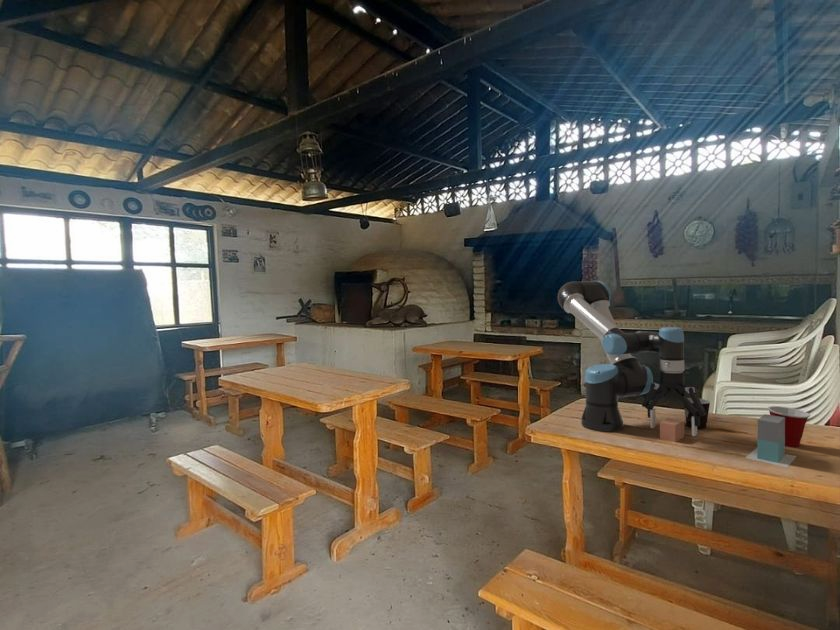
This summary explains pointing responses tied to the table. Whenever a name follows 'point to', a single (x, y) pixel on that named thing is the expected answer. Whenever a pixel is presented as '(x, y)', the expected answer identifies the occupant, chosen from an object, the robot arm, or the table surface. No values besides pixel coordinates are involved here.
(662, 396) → the robot arm
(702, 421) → the coffee mug
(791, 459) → the baseplate
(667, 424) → the terracotta brick
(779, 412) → the plastic cup
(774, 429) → the charcoal brick
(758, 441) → the teal base brick
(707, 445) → the table surface
